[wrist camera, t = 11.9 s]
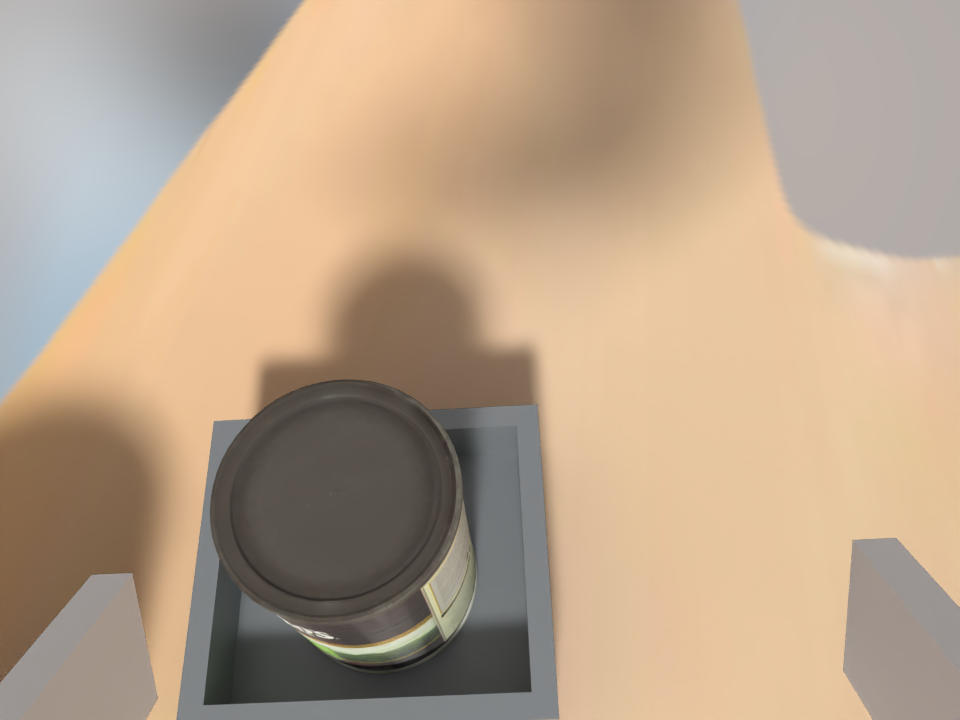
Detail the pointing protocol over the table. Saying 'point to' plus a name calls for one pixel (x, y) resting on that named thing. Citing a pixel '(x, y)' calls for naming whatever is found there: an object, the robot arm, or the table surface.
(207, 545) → the bin
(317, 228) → the table surface
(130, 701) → the robot arm
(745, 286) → the table surface
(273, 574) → the coffee can
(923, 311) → the table surface
